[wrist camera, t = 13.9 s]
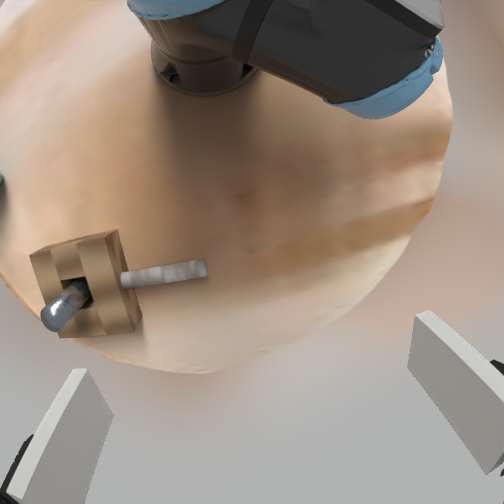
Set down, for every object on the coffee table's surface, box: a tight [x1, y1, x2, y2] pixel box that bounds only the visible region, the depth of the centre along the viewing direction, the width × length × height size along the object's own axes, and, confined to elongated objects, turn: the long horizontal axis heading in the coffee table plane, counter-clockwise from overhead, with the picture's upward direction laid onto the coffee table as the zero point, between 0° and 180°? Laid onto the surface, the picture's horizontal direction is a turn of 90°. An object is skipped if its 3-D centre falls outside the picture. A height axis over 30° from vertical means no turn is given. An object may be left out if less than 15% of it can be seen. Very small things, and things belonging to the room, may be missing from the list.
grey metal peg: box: [40, 276, 92, 332], centre depth 35 cm, size 3×3×13 cm
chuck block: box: [29, 229, 208, 338], centre depth 39 cm, size 14×26×5 cm, turn 99°
